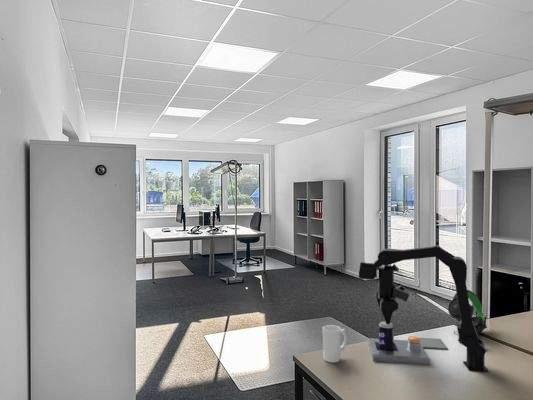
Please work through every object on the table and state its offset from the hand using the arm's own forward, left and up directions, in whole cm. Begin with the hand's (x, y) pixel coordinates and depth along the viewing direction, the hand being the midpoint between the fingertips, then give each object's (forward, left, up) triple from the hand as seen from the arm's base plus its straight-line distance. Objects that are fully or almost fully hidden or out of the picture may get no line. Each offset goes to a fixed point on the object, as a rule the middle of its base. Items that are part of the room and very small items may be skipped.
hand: (386, 320), depth 149 cm
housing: (0, -4, -13) cm, 14 cm away
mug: (-8, +20, -13) cm, 25 cm away
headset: (+25, -41, -13) cm, 50 cm away
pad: (+12, -20, -13) cm, 27 cm away
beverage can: (0, 0, -13) cm, 13 cm away
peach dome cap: (0, -11, -9) cm, 14 cm away
